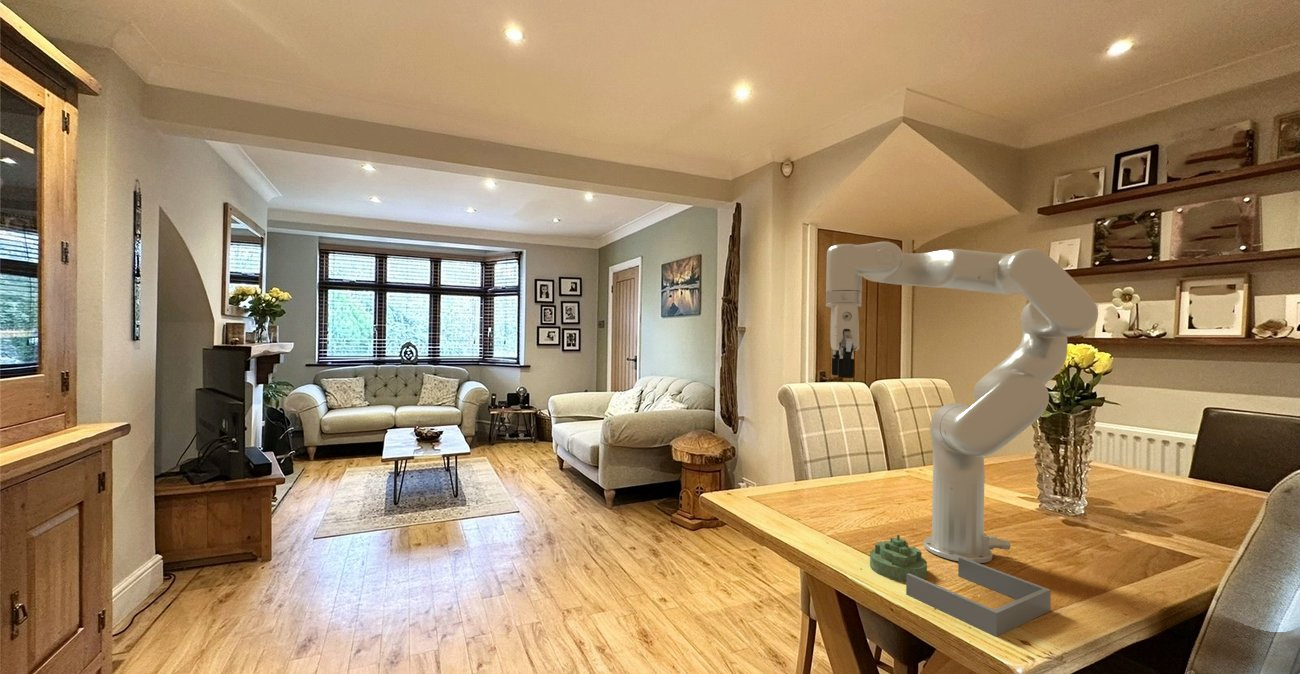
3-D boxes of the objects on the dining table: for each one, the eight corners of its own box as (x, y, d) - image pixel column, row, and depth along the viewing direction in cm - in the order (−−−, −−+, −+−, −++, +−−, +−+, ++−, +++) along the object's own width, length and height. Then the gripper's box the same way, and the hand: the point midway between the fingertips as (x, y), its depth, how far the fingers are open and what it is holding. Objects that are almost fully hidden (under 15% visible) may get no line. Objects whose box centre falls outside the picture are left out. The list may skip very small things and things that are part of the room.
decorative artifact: (937, 584, 96) (911, 561, 106) (937, 545, 96) (912, 526, 106) (882, 582, 96) (862, 559, 106) (883, 544, 96) (862, 525, 106)
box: (906, 594, 91) (906, 574, 91) (960, 575, 99) (961, 556, 99) (996, 636, 78) (996, 613, 78) (1050, 610, 86) (1050, 589, 86)
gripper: (869, 296, 107) (868, 379, 107) (854, 303, 124) (853, 374, 124) (831, 296, 108) (829, 378, 108) (821, 303, 125) (820, 373, 125)
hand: (842, 376), depth 116 cm, fingers open, 9 cm apart
